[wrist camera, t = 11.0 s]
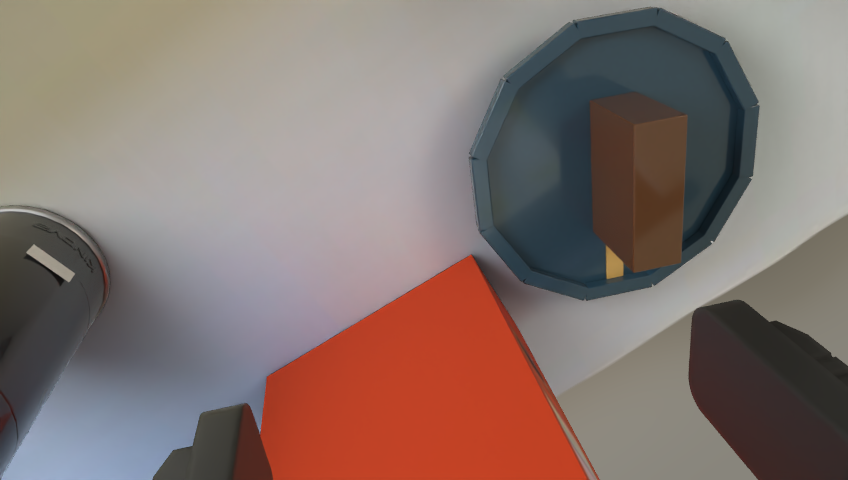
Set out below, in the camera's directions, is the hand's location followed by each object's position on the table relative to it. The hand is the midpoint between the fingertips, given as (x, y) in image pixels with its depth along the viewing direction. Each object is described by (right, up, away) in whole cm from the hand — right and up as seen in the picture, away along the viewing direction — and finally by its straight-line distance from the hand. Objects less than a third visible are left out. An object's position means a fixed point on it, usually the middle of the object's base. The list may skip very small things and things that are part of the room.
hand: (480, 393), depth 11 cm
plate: (+11, +8, +30) cm, 33 cm away
